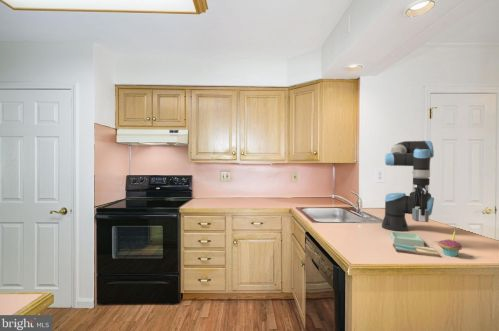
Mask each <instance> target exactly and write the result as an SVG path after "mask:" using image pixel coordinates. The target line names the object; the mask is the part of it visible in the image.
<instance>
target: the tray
mask: <svg viewBox="0 0 499 331" xmlns="http://www.w3.org/2000/svg"><path fill="white" fill-rule="evenodd" d="M389 233H390V234H389V236H390V239H391V240H392V243H395V244H404V245H414V246H423V247H425V241H424V240H423V238H421V236H420V235H419V234H418V233H413V232H412V233H411V232H410V233H409V232H404V231H394V230H390V231H389Z"/></svg>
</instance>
